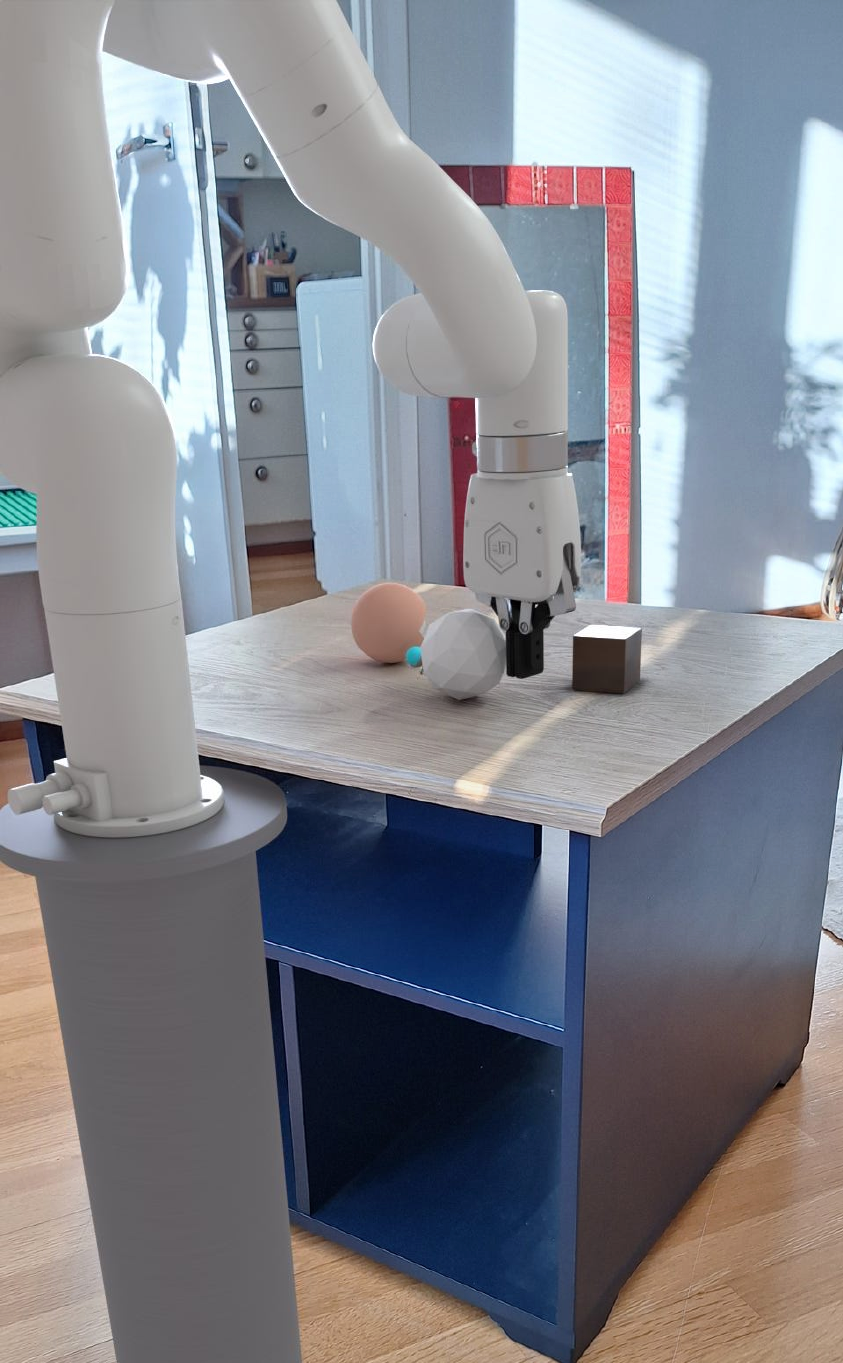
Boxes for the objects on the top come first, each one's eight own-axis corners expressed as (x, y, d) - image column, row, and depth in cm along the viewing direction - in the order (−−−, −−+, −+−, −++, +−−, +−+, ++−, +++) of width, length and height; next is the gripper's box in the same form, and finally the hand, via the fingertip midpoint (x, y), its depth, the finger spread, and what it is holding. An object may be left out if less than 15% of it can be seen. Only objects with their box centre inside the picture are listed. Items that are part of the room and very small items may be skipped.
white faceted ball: (452, 673, 110) (362, 672, 118) (511, 715, 115) (420, 711, 124) (482, 590, 111) (390, 595, 120) (539, 636, 116) (447, 637, 125)
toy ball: (445, 659, 132) (443, 581, 128) (394, 674, 126) (390, 593, 123) (388, 650, 137) (384, 574, 133) (336, 664, 131) (331, 585, 128)
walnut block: (624, 694, 117) (625, 639, 115) (571, 689, 119) (572, 635, 117) (640, 681, 121) (642, 627, 119) (589, 677, 123) (590, 624, 121)
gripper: (427, 457, 109) (436, 671, 117) (561, 464, 99) (561, 697, 107) (488, 449, 114) (493, 654, 122) (622, 454, 104) (618, 678, 112)
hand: (525, 674), depth 114 cm, fingers closed
